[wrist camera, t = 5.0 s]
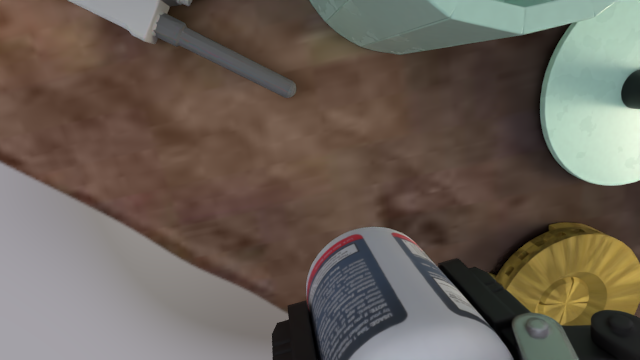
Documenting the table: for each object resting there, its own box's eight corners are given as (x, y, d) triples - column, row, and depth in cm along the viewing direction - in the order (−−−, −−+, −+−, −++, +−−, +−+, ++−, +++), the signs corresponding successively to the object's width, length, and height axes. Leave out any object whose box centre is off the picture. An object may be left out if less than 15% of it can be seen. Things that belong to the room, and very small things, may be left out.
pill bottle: (304, 336, 16) (348, 643, 7) (305, 226, 14) (361, 453, 6) (419, 326, 16) (579, 594, 8) (432, 221, 15) (646, 415, 6)
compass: (637, 289, 30) (664, 304, 28) (525, 375, 31) (543, 396, 29) (577, 191, 27) (603, 201, 25) (453, 292, 28) (468, 309, 26)
